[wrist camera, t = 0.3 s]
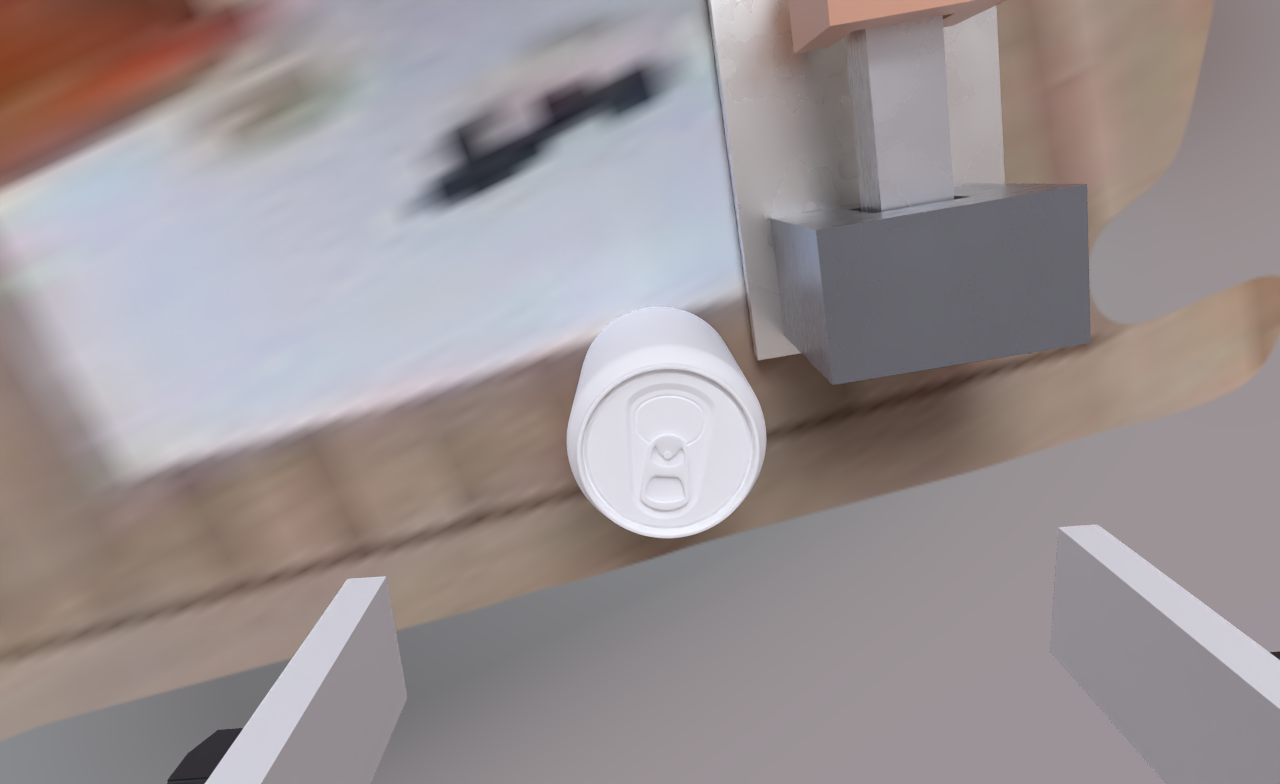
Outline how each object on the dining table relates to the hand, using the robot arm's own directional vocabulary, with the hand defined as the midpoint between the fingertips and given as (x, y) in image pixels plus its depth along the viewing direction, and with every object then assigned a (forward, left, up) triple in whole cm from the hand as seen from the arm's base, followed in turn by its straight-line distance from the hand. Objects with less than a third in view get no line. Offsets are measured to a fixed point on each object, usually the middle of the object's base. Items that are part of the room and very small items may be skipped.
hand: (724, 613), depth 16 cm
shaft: (-13, +11, -23) cm, 28 cm away
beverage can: (+2, -1, -28) cm, 28 cm away
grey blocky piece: (-9, +11, -27) cm, 31 cm away
